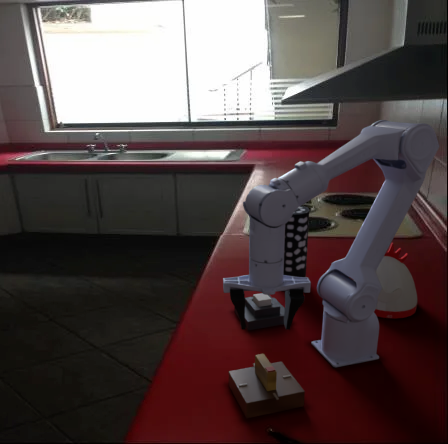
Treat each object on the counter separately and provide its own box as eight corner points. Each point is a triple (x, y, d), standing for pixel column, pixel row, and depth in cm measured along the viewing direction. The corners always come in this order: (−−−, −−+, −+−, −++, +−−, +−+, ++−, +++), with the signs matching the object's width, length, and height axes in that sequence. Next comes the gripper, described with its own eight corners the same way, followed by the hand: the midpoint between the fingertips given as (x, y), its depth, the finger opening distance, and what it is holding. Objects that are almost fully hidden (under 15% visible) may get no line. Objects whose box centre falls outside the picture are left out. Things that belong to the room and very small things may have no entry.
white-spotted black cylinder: (305, 291, 105) (309, 215, 98) (270, 287, 107) (273, 213, 101) (305, 276, 112) (309, 205, 106) (273, 274, 115) (275, 204, 108)
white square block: (265, 299, 95) (265, 292, 94) (271, 305, 92) (271, 298, 91) (252, 301, 94) (253, 294, 94) (258, 307, 91) (258, 300, 91)
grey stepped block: (274, 305, 99) (274, 290, 97) (290, 323, 91) (291, 307, 90) (234, 312, 97) (234, 296, 96) (247, 330, 89) (248, 314, 88)
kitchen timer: (348, 285, 106) (353, 230, 101) (410, 292, 101) (419, 234, 96) (350, 313, 94) (356, 251, 89) (421, 322, 89) (431, 257, 84)
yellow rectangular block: (254, 372, 72) (254, 353, 71) (263, 370, 72) (263, 352, 71) (267, 391, 67) (267, 372, 66) (276, 389, 68) (276, 370, 67)
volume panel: (279, 373, 76) (279, 358, 75) (306, 409, 67) (307, 393, 66) (227, 383, 74) (227, 368, 73) (247, 421, 66) (248, 405, 65)
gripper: (223, 266, 67) (224, 339, 72) (316, 266, 66) (312, 340, 70) (222, 250, 74) (223, 317, 78) (306, 249, 72) (303, 317, 77)
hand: (264, 326), depth 75 cm, fingers open, 7 cm apart
